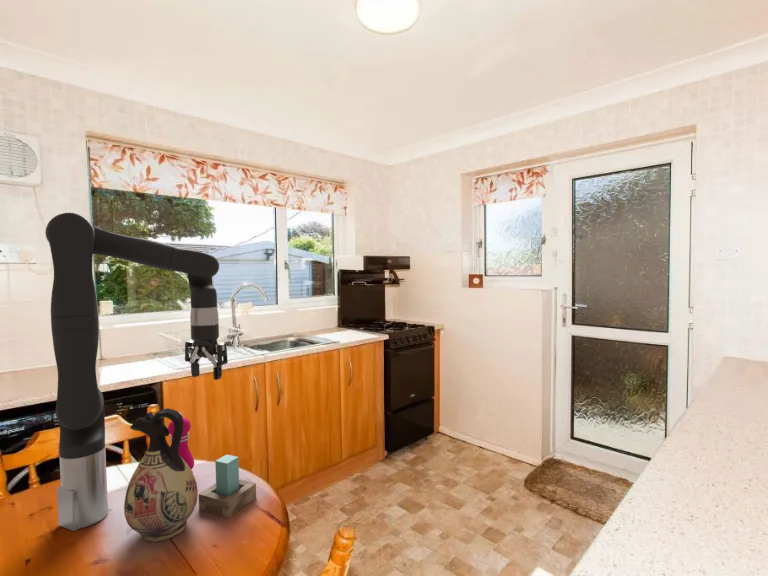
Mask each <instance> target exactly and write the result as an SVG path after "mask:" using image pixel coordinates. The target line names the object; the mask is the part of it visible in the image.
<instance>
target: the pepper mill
mask: <svg viewBox="0 0 768 576" xmlns="http://www.w3.org/2000/svg"><path fill="white" fill-rule="evenodd" d="M179 413H180V414H181V416H182V417H183V413H182V412H179ZM183 421H184V423H183V433H182V438H181V441H180V445H179V449H178V452H179V455H180V456H181V457H182V459H183V460H184V461H185V462H186V463H187V464H188V466H189V467H190V469H191V471H192V473H193V474H194V471H193V469H194V467H195V458H194V456H193V454H192V452H191V451H190V448H189V438H190V433H189V431H190V430H191V428H192V424H191V422H190V420H189V419H188V418H187V417H183ZM167 428H168V430H169V436H170V437H169V438H170V439H169V441H170V442H171V443H172V438H173V433H174V424H173V421H171V420H170V422H169V423H168V426H167Z"/></svg>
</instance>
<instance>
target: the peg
mask: <svg viewBox="0 0 768 576" xmlns="http://www.w3.org/2000/svg"><path fill="white" fill-rule="evenodd" d="M214 463H215V484H216V494H220V495H224V496H227V497H228V496H230V495H231V494H233V493H234V492H236V491H237V490H239V479H240V470H239V469H240V468H239V464H240V463H239V456H236V455H232V454H225V455H223V456H221V457H220V458H217V459H216V460H215V461H214Z"/></svg>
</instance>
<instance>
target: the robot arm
mask: <svg viewBox="0 0 768 576" xmlns="http://www.w3.org/2000/svg"><path fill="white" fill-rule="evenodd" d="M44 233H45V238H46V240H47V242H48V244H49V247H50V253H51V260H52V266H53V283H52V288H51V289H52V290H51V298H50V325H51V327H50V328H51V335H52V345H53V346H52V347H53V353H54V358H55V362H56V363H55V364H56V370H57V389H56V392H57V394H56V405H55V416H56V419H57V421H58V423H59V440H58V441H59V443H58V452H59V453H58V455H59V472H60V473H59V474H60V485H59V486H56V487H57V488H56V497H57V498H56V499H57V517H58V519H57V520H58V526H59V527H62V528H65V529H66V530H67V529H68V530H70V531H71V532H72V531H73V532H74V531H77V530H80V529H83V528H86V527H89V526H92V525H94V524H97V523H98V522H101V521H102V520H103V519H104V518H106V517H107V515H108V513H109V499H108V498H109V497H108V480H107V475H108V474H107V459H106V458H107V453H106V420H105V419H106V417H105V400H104V394H103V392H102V391H101V389H99V385H98V379H97V372H96V369H97V368H96V366H97V357H98V349H99V338H100V321H99V307H98V301H97V299H98V298H97V292H96V286H95V281H94V275H93V255H99V256H105V257H110V258H114V259H115V258H116V259H121V260H123V261H128V262H132V263H135V264H140V265H143V266H146V267H150V268H156V269H159V270H164V271H169V272H179V273H184V274H186V275H187V280H188V281H187V282H188V285H189V289H190V314H189V315H190V317H189V318H190V340H189V341H185V342H184V361H185V362H188V363H189V365H190V374H191V377H192V378H193V377H194V378H196V377H199V376H200V373H201V372H200V363H199V362H200V360H201V359H202V358H204V359H207V360H208V361H209V362H211V364H212V366H213V368H212V371H213V374H212V376H213V377H212V378H213V380H214V381H217V380H220V379H221V378H222V376H223V372H222V371H223V370H222V369H223V366H224V365H226V364H228V351H227V350H228V349H227V347H228V346H227V343H225V342H224V343H218V339H219V337H220V329H219V328H220V327H219V326H220V323H219V319H220V318H219V311H218V310H219V309H218V294H217V293H218V292H217V289H216V288H215V287H214V285H213V277H215V276H216V275H217V274H218V272H219V270H220V263H219V261H218V259H217V258H216V257H215V256H214V255H212V254H210V253H206V252H201V251H197V250H192V249H186V248H181V247H178V246H176V245H172V244H168V243H163V242H161V241H160V242H159V241H156V240H152V239H148V238H141V237H134V236H129V235H124V234H119V233H117V232H113V231H112V232H111V231H108V230H105V229H102V228H100V227H97V226H94V225H92V223H91V222H90V220H89V219H87V218H86V217H85V216H83V215H81V214H78V213H75V212H63V213H59V214H57V215H55V216H53V217H52V218H51V219H50V220H49V221H48V223H47V225H46V228H45V232H44Z"/></svg>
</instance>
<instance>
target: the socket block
mask: <svg viewBox="0 0 768 576" xmlns="http://www.w3.org/2000/svg"><path fill="white" fill-rule="evenodd" d="M256 498H257V483H256V482H252V481H247V480H244V479H241V478H239V490H237V491H236V492H234V493H233V494H231V495H230V496H228V497H227V496H224V495H220V494H216V483H214V484H212V485H211V486H209V487H207V488H206V489H204V490H203V491H201V492H200V493H198V510H201V511H204V512H207V513H211V514H214V515H217V516H220V517H223V518H227V519H230V518H231V517H232V516H234V515H236V513H238V512H239V511H240V510H242V509H243V508H244V507H246V506H248V505H249V503H251V502H253V501H254V500H255V499H256Z"/></svg>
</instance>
